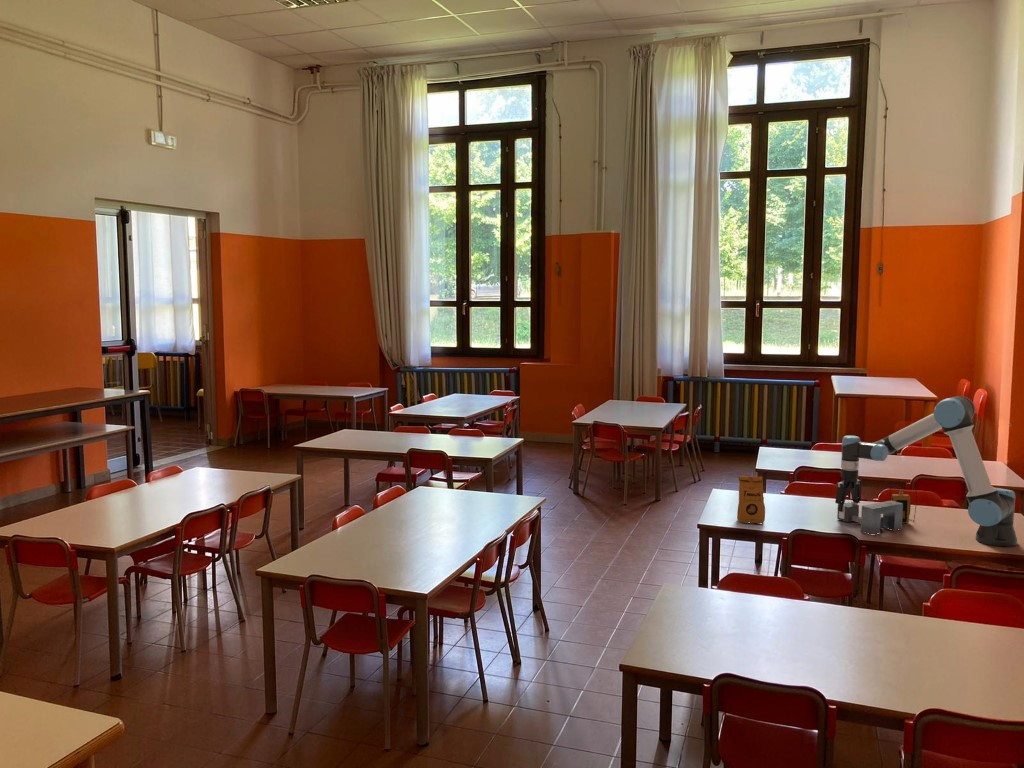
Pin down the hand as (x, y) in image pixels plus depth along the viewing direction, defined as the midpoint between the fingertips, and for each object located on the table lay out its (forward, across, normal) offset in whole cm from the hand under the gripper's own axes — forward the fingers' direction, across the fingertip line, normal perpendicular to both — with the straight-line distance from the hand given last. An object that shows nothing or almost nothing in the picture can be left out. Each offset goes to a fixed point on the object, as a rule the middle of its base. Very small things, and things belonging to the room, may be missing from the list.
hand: (847, 517), depth 374 cm
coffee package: (+2, -42, +19) cm, 46 cm away
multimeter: (+2, +20, -11) cm, 23 cm away
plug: (+1, 0, -7) cm, 7 cm away
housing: (+2, 0, -18) cm, 19 cm away
